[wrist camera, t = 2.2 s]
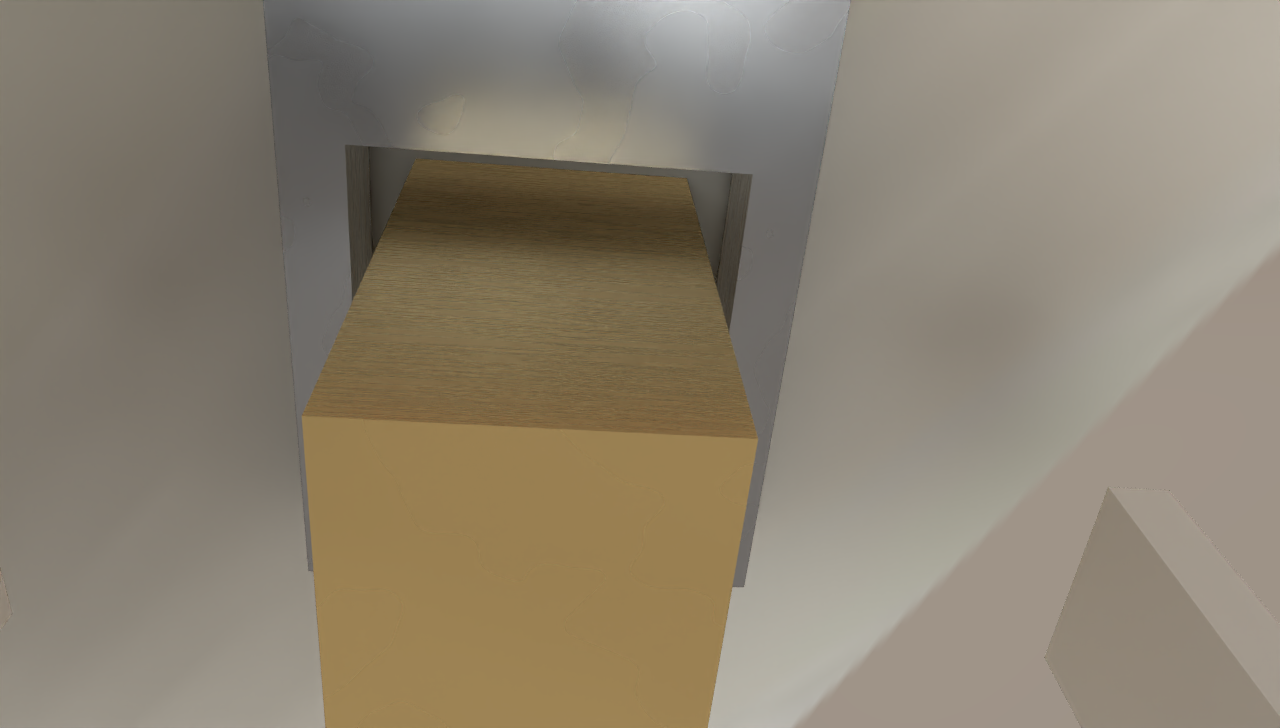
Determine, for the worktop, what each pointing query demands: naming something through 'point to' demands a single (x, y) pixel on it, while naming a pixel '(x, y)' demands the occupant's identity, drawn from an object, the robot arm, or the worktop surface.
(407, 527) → the block
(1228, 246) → the worktop surface
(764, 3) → the grey slotted board
